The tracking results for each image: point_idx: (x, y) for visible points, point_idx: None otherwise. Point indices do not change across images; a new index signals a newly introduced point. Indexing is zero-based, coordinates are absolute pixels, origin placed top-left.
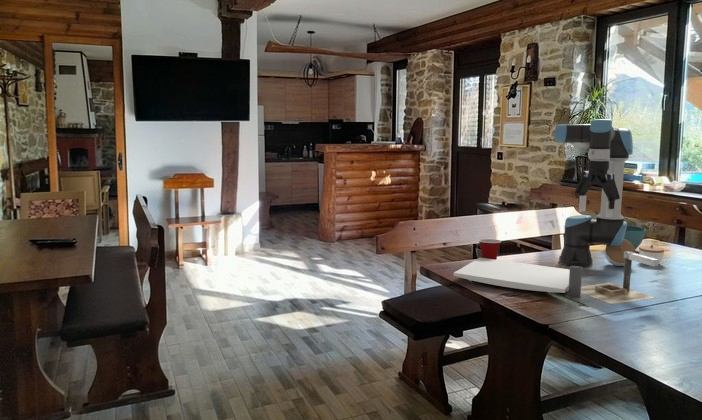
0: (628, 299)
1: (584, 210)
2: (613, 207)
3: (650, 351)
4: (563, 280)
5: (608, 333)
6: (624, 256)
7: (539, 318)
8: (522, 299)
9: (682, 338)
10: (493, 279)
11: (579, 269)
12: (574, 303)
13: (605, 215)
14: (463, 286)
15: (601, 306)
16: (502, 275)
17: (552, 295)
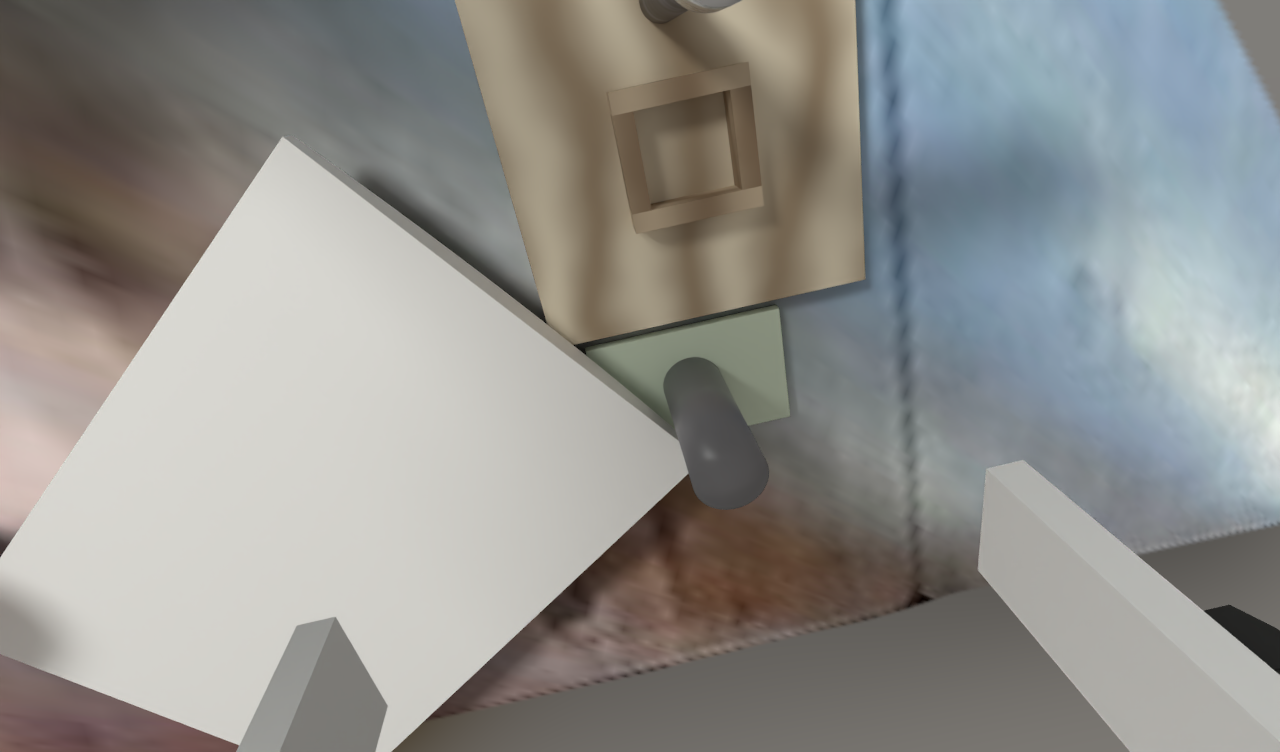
0: (827, 127)
1: (337, 656)
2: (1274, 650)
3: (1248, 412)
4: (534, 387)
5: (1072, 454)
6: (707, 11)
7: (857, 597)
8: (638, 578)
9: (1258, 213)
10: (468, 676)
11: (766, 471)
12: (765, 420)
13: (1001, 596)
14: (425, 720)
15: (816, 304)
16: (406, 632)
17: None
